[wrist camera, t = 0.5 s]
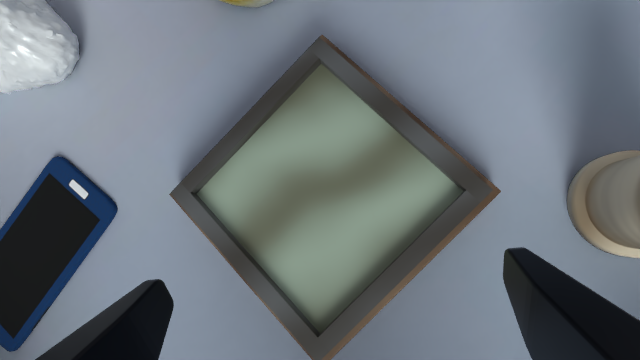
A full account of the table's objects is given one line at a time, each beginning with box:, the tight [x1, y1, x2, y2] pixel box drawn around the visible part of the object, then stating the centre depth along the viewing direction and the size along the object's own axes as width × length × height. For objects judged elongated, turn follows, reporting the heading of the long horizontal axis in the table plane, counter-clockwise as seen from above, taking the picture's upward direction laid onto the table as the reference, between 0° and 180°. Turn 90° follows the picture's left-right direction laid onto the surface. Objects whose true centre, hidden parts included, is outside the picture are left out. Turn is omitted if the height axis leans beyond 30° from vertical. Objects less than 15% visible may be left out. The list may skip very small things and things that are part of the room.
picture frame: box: [169, 35, 501, 360], centre depth 23 cm, size 15×15×2 cm
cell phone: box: [0, 156, 117, 352], centre depth 28 cm, size 7×14×1 cm, turn 144°
